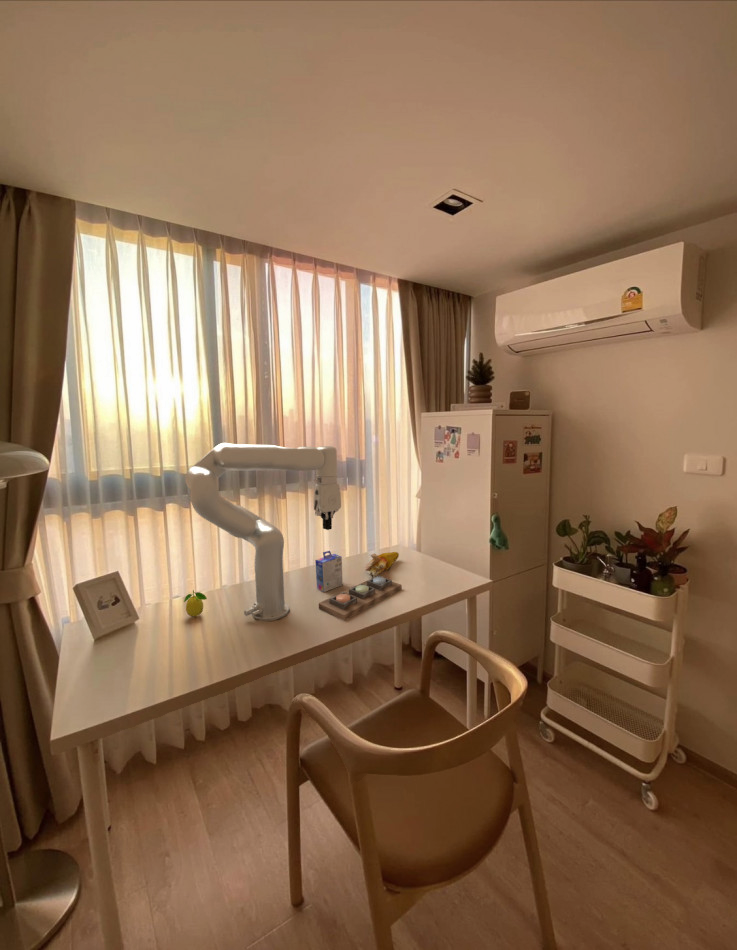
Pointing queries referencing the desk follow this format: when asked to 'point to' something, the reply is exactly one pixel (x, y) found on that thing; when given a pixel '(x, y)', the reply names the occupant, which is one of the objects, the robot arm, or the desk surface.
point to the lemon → (194, 603)
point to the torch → (381, 562)
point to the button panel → (359, 598)
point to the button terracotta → (343, 598)
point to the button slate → (379, 580)
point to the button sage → (362, 589)
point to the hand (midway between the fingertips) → (327, 528)
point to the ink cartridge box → (329, 572)
